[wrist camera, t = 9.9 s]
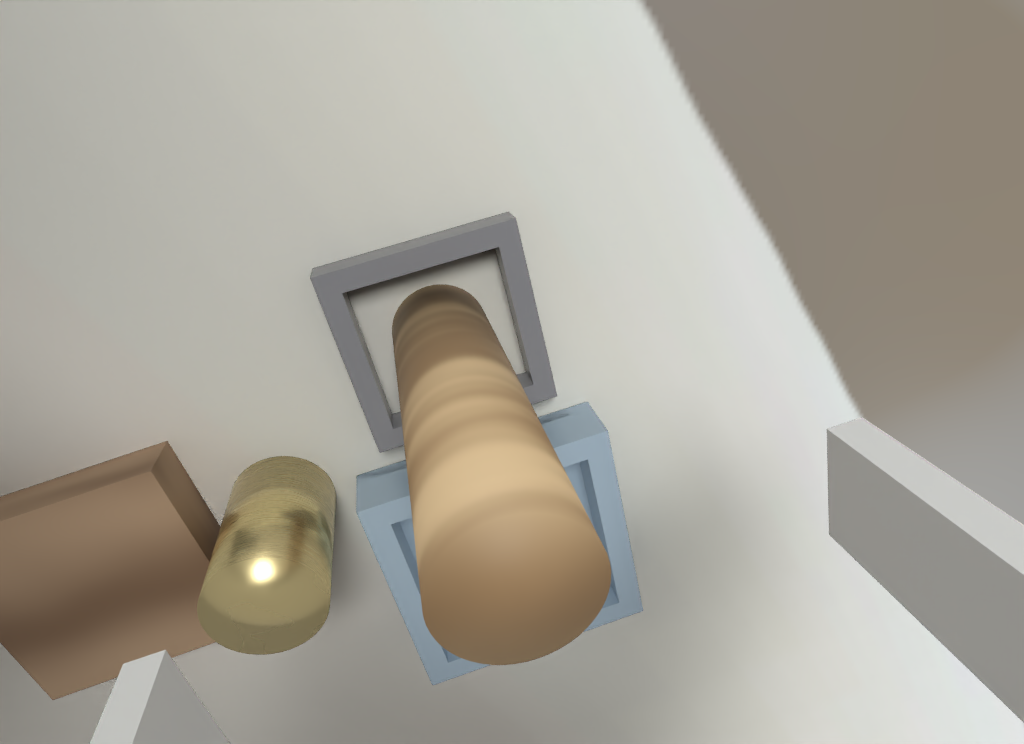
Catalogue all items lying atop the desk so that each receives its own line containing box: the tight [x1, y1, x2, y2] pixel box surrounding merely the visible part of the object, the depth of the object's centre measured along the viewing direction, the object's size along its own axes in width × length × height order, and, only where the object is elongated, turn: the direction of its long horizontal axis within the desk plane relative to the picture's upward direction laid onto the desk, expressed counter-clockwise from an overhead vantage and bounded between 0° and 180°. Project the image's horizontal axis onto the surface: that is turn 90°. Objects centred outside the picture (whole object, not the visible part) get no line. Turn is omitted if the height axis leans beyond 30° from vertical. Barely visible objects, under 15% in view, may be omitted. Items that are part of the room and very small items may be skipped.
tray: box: [356, 402, 643, 685], centre depth 28 cm, size 10×10×2 cm
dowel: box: [392, 285, 611, 665], centre depth 18 cm, size 4×4×14 cm
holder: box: [310, 212, 557, 452], centre depth 24 cm, size 7×7×1 cm
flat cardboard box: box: [0, 441, 220, 700], centre depth 25 cm, size 8×8×2 cm
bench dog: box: [197, 456, 336, 654], centre depth 23 cm, size 4×4×6 cm
